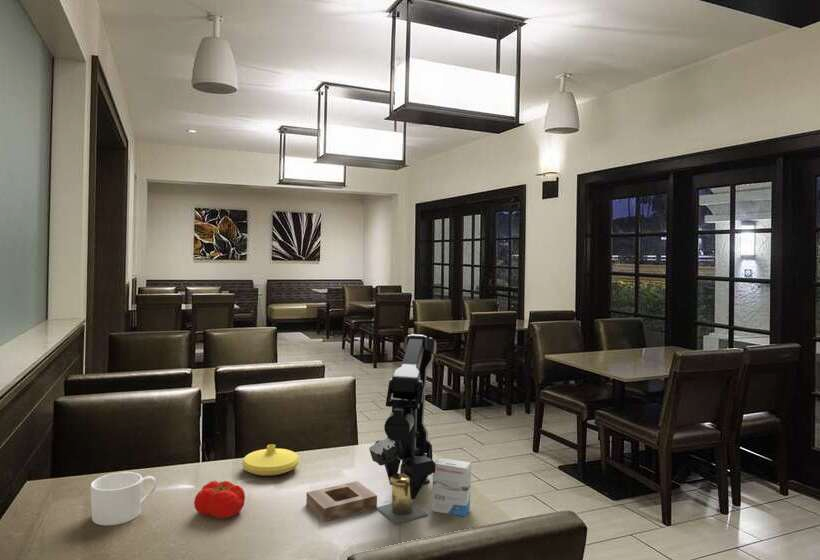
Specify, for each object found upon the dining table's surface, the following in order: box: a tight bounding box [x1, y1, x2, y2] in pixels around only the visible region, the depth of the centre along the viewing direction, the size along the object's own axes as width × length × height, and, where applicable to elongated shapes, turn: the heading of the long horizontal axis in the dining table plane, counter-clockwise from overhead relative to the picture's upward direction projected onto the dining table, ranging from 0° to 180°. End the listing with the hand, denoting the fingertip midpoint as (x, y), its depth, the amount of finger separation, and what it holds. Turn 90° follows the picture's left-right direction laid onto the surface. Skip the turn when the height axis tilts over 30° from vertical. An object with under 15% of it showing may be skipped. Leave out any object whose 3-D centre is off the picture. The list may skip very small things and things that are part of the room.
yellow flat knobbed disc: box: [241, 444, 300, 477], centre depth 157 cm, size 16×16×7 cm
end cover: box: [389, 472, 414, 515], centre depth 134 cm, size 6×6×8 cm
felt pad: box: [375, 502, 429, 525], centre depth 134 cm, size 9×9×1 cm
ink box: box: [431, 457, 472, 518], centre depth 136 cm, size 8×5×12 cm, turn 71°
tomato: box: [193, 480, 246, 519], centre depth 131 cm, size 10×11×6 cm
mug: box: [90, 471, 157, 526], centre depth 128 cm, size 13×10×8 cm
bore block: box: [306, 480, 378, 522], centre depth 136 cm, size 14×10×3 cm
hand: (402, 491), depth 134 cm, fingers open, 9 cm apart
